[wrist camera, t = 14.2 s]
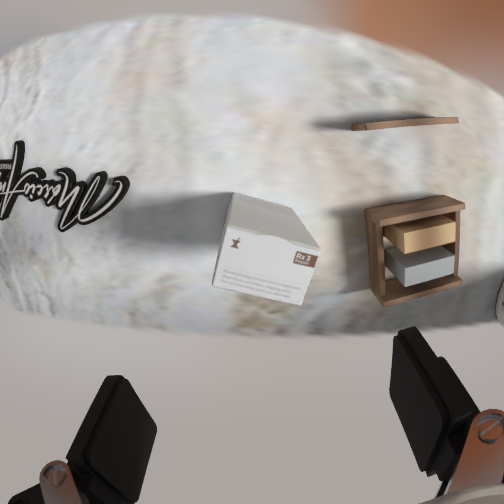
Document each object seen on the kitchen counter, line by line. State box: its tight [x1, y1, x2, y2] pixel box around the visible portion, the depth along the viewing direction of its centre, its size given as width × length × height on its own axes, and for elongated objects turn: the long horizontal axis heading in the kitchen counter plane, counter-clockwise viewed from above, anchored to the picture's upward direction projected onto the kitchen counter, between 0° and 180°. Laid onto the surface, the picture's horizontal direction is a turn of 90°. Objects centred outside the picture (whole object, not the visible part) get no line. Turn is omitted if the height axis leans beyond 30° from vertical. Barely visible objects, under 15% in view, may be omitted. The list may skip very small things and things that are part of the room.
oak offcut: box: [384, 214, 456, 254], centre depth 28 cm, size 6×2×5 cm, turn 102°
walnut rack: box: [352, 117, 465, 307], centre depth 27 cm, size 10×18×4 cm, turn 12°
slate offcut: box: [386, 245, 455, 287], centre depth 29 cm, size 6×2×5 cm, turn 102°
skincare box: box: [212, 192, 321, 306], centre depth 24 cm, size 6×4×12 cm
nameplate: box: [0, 140, 130, 232], centre depth 28 cm, size 28×2×10 cm
